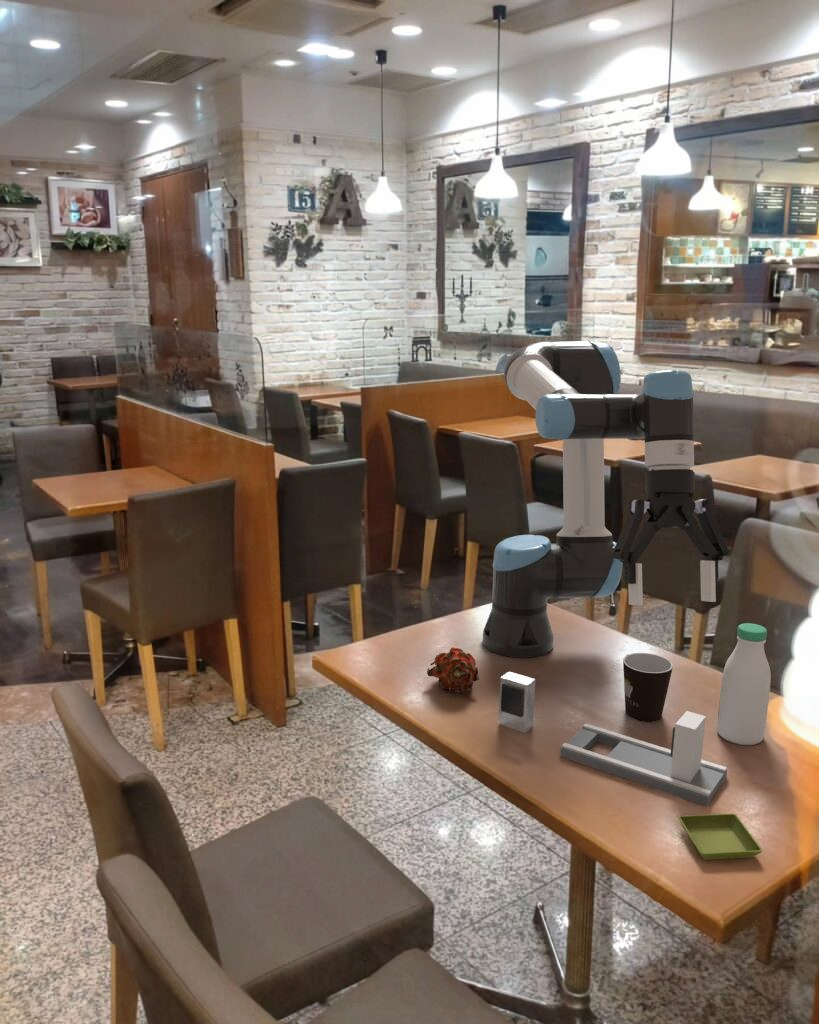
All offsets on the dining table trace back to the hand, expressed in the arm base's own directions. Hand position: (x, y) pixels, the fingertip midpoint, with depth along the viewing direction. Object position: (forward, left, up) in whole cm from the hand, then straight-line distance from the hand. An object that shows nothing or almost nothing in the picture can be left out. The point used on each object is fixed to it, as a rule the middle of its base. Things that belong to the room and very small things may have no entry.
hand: (672, 603), depth 139 cm
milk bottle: (-14, +9, -27) cm, 32 cm away
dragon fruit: (0, -41, -27) cm, 49 cm away
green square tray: (+19, +15, -27) cm, 36 cm away
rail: (+6, -1, -27) cm, 27 cm away
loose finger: (+6, -24, -27) cm, 36 cm away
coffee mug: (-13, -8, -27) cm, 31 cm away
